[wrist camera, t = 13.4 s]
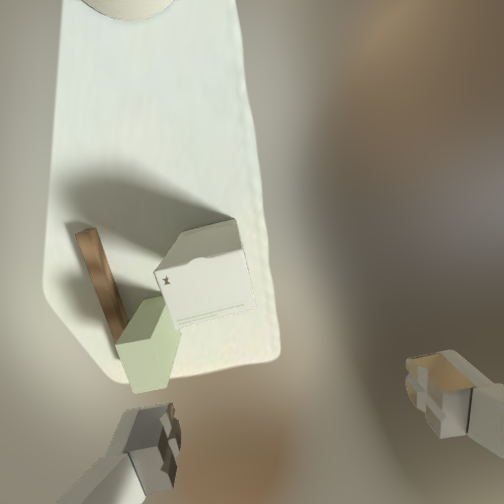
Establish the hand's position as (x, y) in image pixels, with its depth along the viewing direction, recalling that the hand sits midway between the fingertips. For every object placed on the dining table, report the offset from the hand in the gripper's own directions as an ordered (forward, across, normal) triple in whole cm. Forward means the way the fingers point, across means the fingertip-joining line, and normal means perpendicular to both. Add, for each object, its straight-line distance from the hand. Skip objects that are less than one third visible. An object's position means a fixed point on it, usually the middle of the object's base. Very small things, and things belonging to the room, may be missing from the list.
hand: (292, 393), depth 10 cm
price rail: (+31, +21, +9) cm, 39 cm away
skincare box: (+31, +5, +3) cm, 32 cm away
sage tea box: (+31, +15, +13) cm, 37 cm away
